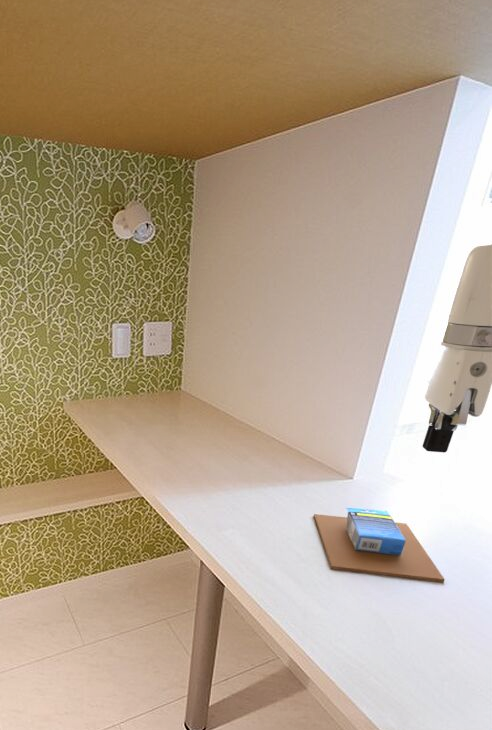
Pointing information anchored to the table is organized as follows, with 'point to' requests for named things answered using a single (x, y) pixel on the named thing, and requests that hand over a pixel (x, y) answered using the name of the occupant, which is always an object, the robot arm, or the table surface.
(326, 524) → the cork mat
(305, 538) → the table surface
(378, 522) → the label tape box
